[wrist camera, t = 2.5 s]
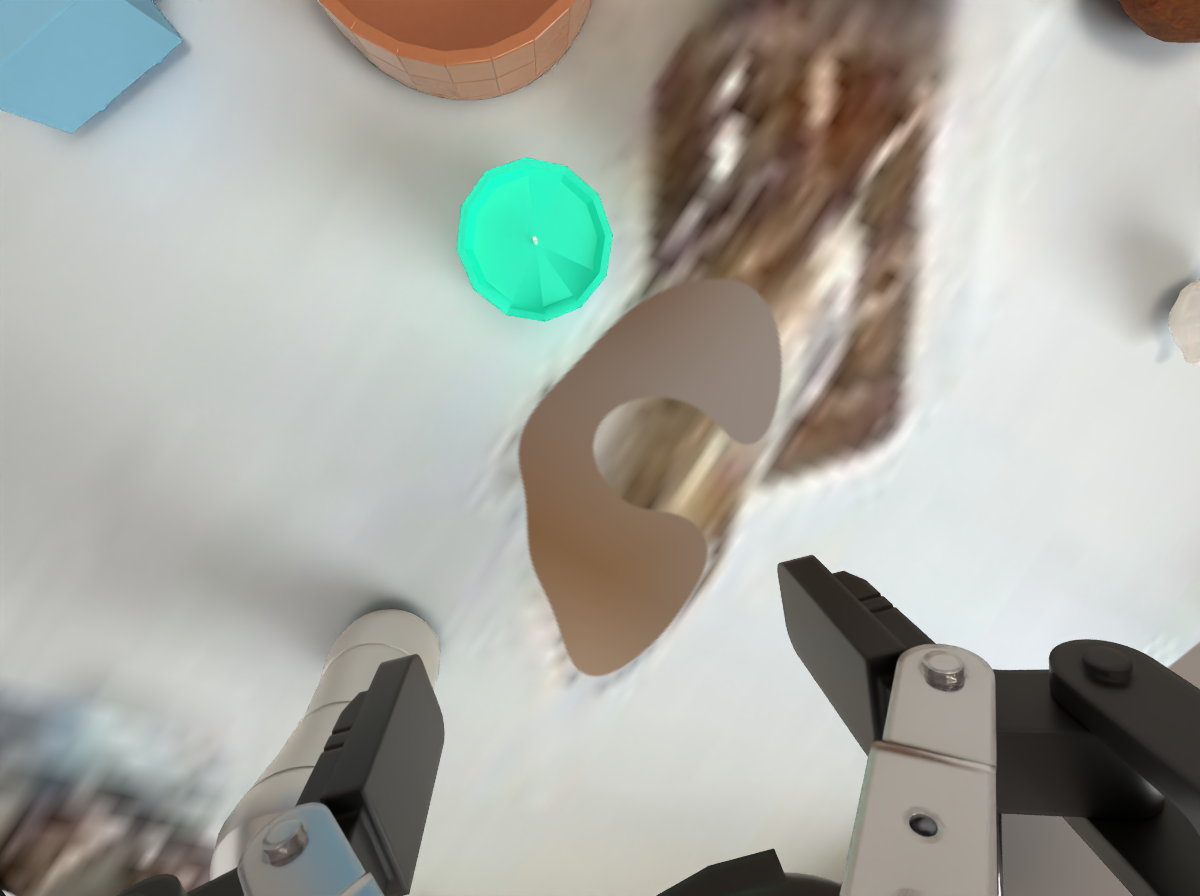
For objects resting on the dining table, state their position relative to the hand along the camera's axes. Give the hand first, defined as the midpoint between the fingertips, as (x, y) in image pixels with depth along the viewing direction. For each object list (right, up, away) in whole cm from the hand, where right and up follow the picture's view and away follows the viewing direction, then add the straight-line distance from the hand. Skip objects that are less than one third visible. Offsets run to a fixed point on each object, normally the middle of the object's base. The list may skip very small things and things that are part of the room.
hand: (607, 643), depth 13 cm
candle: (-4, +15, +20) cm, 25 cm away
